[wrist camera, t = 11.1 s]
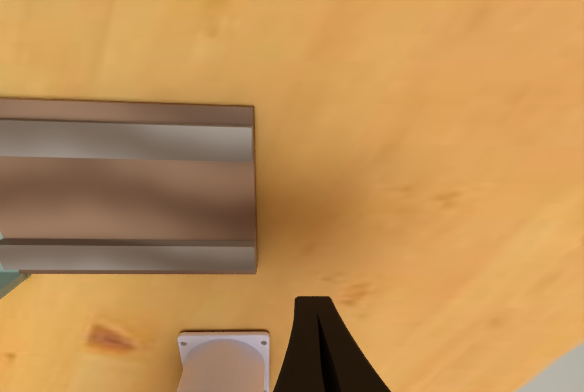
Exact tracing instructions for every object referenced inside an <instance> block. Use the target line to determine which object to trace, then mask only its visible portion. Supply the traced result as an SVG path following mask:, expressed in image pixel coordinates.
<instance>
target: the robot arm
mask: <svg viewBox="0 0 584 392" xmlns="http://www.w3.org/2000/svg"><path fill="white" fill-rule="evenodd" d="M177 341H178V347H179V352H180V357H181V362H182V367H183V372H182V375H181V378H180V381H179V384H178V387H177V390H176V392H269V353H270V335H269V333H267V332H182V333H180V334H179V335H178V337H177ZM273 392H391V391H390V390H389V388H388V387H387V386H386V385H385V383H384V382H383V381H382V379H381V378H380V377H379V375H378V374H377V373H376V371H375V370H374V369H373V367H372V366H371V364H370V363H369V361H368V360H367V359H366V357H365V356H364V354H363V353H362V351H361V350H360V348H359V347H358V345H357V344H356V342H355V340H354V339H353V337H352V336H351V334H350V332H349V331H348V329H347V328H346V326H345V324H344V322H343V321H342V319H341V317H340V315H339V313H338V312H337V310H336V308H335V306H334V304H333V302H332V299H331V298H330V297H329V296H298V297H297V298H295V308H294V321H293V327H292V331H291V336H290V340H289V344H288V348H287V351H286V355H285V358H284V361H283V365H282V368H281V371H280V374H279V377H278V380H277V383H276V385H275V388H274V391H273Z"/></svg>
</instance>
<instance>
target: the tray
mask: <svg viewBox="0 0 584 392" xmlns="http://www.w3.org/2000/svg"><path fill="white" fill-rule="evenodd" d="M1 239H3V237H2V234H1V232H0V240H1ZM29 276H30V274H20V273H19V271H18V270H4V269H3V267H2V265H1V263H0V299H1V298H2V297H4V296H5V295H6V294H8V293H9V292H10V291H11V290H13V289H14V288H15V287H16V286H18V285H19V284H20V283H21V282H23V281H24V280H25V279H27V278H28V277H29Z"/></svg>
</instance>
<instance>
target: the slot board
mask: <svg viewBox="0 0 584 392" xmlns="http://www.w3.org/2000/svg"><path fill="white" fill-rule="evenodd" d="M0 232H1V234H2V237H3V239H1V240H0V263H1V265H2V267H3V269H4V270H18V271H19V273H20V274H256V272H257V228H256V176H255V125H254V106H239V105H210V104H181V103H151V102H122V101H93V100H64V99H35V98H5V97H0Z"/></svg>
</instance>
